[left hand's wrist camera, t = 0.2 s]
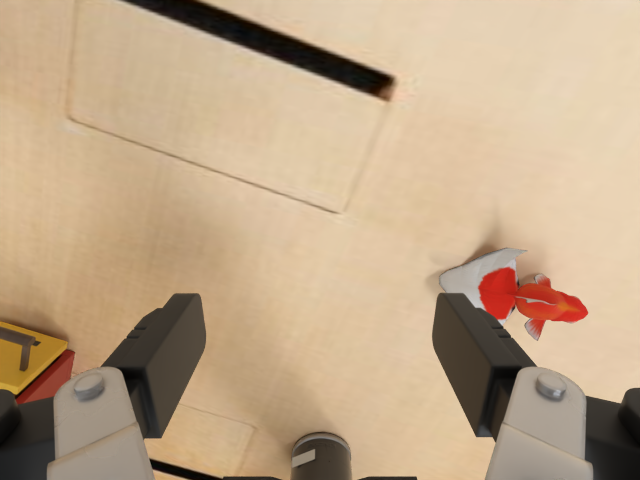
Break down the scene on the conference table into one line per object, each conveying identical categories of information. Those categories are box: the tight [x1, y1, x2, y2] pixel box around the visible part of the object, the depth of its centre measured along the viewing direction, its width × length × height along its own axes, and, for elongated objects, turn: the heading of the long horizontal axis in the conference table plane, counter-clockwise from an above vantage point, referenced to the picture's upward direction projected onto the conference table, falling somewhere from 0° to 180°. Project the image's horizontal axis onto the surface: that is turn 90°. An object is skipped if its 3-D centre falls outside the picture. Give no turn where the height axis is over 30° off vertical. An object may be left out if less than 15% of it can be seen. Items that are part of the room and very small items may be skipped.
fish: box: [439, 248, 588, 341], centre depth 40 cm, size 11×16×10 cm
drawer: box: [0, 321, 68, 400], centre depth 43 cm, size 22×9×8 cm, turn 158°
